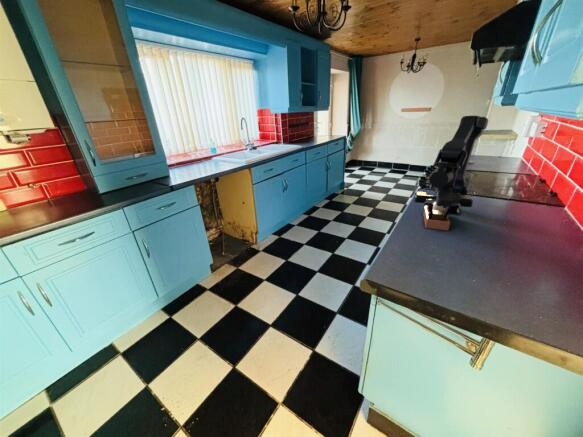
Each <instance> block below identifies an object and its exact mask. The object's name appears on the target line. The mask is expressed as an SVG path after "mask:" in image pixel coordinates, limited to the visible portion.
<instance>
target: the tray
mask: <svg viewBox="0 0 583 437" xmlns="http://www.w3.org/2000/svg"><path fill="white" fill-rule="evenodd" d="M423 208H424V209H423V212H422V214H423V221H424V228H426V229H431V230H441V231H449V229H450V225H451V220H450V218H449V215H448V216H447V217H446V218H445V220H444V221H438V220H431V219H430V214H429V208H428V206H427V205H425V206H424V207H423ZM443 211H444V212H445V208H443Z"/></svg>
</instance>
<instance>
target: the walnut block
mask: <svg viewBox="0 0 583 437" xmlns="http://www.w3.org/2000/svg"><path fill="white" fill-rule="evenodd" d="M444 218H445V213H444V211H439V210H433V212H432V219H431V220H438V221H444Z"/></svg>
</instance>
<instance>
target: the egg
mask: <svg viewBox="0 0 583 437" xmlns="http://www.w3.org/2000/svg"><path fill="white" fill-rule="evenodd" d="M433 210H439V211H443V207H442V206H437V205H436V201H433Z"/></svg>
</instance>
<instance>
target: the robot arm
mask: <svg viewBox="0 0 583 437" xmlns="http://www.w3.org/2000/svg"><path fill="white" fill-rule="evenodd" d="M488 124H489V119H488V117H486V116H480V115H477V114H473V115H472V114H471V115H470V114H469V115H467V114H466V115H463V116H462V117H461V118H460V122H459V124H458V128H457V129H456V132H455V133H454V135H453V136H452V138H451V140H449V141H447V142H445V144H443V146H442V147H441V148H440V149H439V151H438V153H437V156H436V158H435V161H434V164H433V167H437V170H436V171H435V172H432V174H431V175H430V176H429V179H428V181H429V184H430V186H432V187H433V188H434V192H433V195H432V194H427V192H426V191H415V192H414V194H413V203H419V204H424V205H425V206H428V208H429V214H430V219H432V212H433V203H434V202H436V205H437V206H442V207H443V208H445V212H444V213H445V218H446V217H447V216H448V217H449V214H457V215H458V214H460V211H459V208H460V207H462V208H472V206H473V203H474V201H473V199H472V197H471V196H470V195H469V194H468V188H467V181H466V177H465V175H466V171H467V169H468V166H469V162H470V160H471V157H472V153H473V150H474V147H475V143H476V141H477V140H478V139H479V138H480V137H481V136H482V135H483V133H484V131H485V130H486V129H487V128H488ZM445 218H444V220H445Z"/></svg>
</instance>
